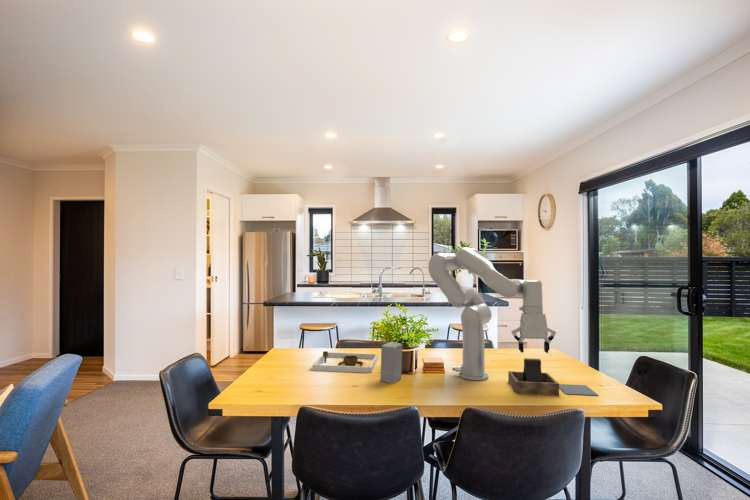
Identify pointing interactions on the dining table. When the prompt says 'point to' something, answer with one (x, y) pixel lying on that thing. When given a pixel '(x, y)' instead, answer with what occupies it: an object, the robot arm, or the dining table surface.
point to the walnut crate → (533, 384)
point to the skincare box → (391, 362)
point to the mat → (577, 390)
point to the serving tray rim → (346, 368)
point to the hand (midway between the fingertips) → (533, 352)
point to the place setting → (346, 360)
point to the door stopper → (532, 370)
